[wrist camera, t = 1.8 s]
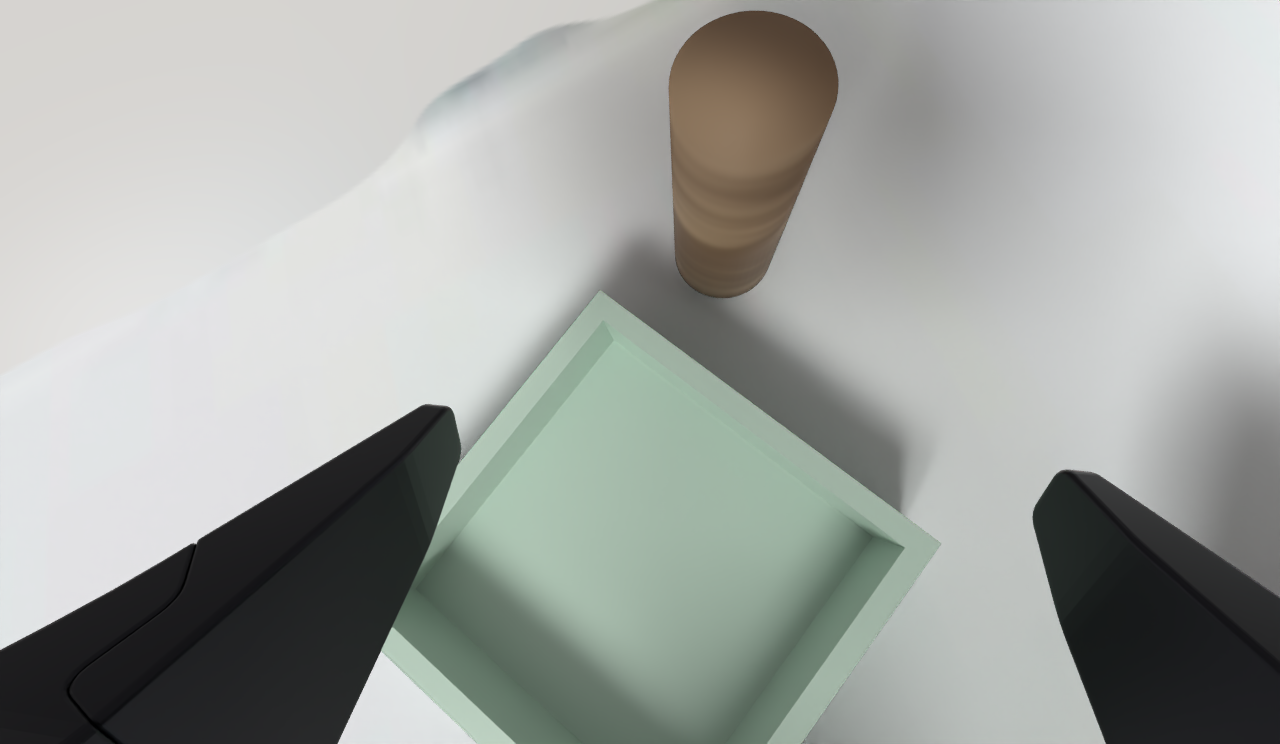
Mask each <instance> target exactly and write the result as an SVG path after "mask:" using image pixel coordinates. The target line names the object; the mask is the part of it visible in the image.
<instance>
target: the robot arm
mask: <svg viewBox="0 0 1280 744" xmlns="http://www.w3.org/2000/svg"><path fill="white" fill-rule="evenodd" d="M460 454H461V443H460V439H459V434H458V430H457V425H456V421H455V417H454V413H453V411H452V409H451V408H450V407H448V406H442V405H432V404H425V405H422V406H420V407H418V408H417V409H415V410H413V411H412V412H410V413H408V414H407V415H405V416H403V417H402V418H400V419H398V420H397V421H395V422H393V423H392V424H390V425H388V426H387V427H385V428H383V429H382V430H380V431H378V432H377V433H375V434H373V435H372V436H370V437H368V438H367V439H365V440H363V441H362V442H360V443H358V444H357V445H355V446H353V447H352V448H350V449H348V450H347V451H345V452H343V453H342V454H340V455H338V456H337V457H335V458H333V459H332V460H330V461H328V462H327V463H325V464H323V465H322V466H320V467H318V468H317V469H315V470H313V471H312V472H310V473H309V474H307V475H305V476H304V477H302V478H300V479H299V480H297V481H295V482H294V483H292V484H290V485H289V486H287V487H285V488H284V489H282V490H280V491H279V492H277V493H275V494H274V495H272V496H270V497H269V498H267V499H265V500H264V501H262V502H260V503H259V504H257V505H255V506H254V507H252V508H250V509H249V510H247V511H245V512H244V513H242V514H240V515H239V516H237V517H235V518H234V519H232V520H230V521H229V522H227V523H225V524H224V525H222V526H220V527H219V528H217V529H215V530H214V531H212V532H210V533H209V534H207V535H205V536H204V537H202V538H200V539H199V540H198V542H197V544H194V543H193V544H190V545H188V546H187V547H185V548H183V549H182V550H180V551H178V552H177V553H175V554H173V555H172V556H170V557H168V558H167V559H165V560H163V561H162V562H160V563H158V564H157V565H155V566H153V567H151V568H150V569H148V570H146V571H144V572H143V573H141V574H139V575H138V576H136V577H134V578H132V579H131V580H129V581H127V582H125V583H124V584H122V585H120V586H119V587H117V588H115V589H113V590H112V591H110V592H108V593H106V594H104V595H102V596H101V597H99V598H97V599H95V600H93V601H91V602H90V603H88V604H86V605H84V606H82V607H80V608H79V609H77V610H75V611H73V612H71V613H69V614H68V615H66V616H64V617H62V618H60V619H58V620H56V621H55V622H53V623H51V624H49V625H47V626H45V627H43V628H41V629H39V630H38V631H36V632H34V633H32V634H30V635H28V636H26V637H24V638H22V639H20V640H19V641H17V642H15V643H13V644H11V645H9V646H7V647H5V648H3V649H2V650H0V744H338V741H339V739H340V737H341V735H342V733H343V731H344V729H345V727H346V724H347V722H348V720H349V718H350V716H351V714H352V712H353V709H354V707H355V705H356V703H357V701H358V699H359V697H360V694H361V692H362V690H363V688H364V686H365V684H366V682H367V680H368V677H369V675H370V673H371V671H372V669H373V667H374V665H375V662H376V660H377V658H378V656H379V654H380V652H381V650H382V647H383V645H384V643H385V641H386V639H387V637H388V635H389V633H390V630H391V628H392V626H393V624H394V622H395V620H396V618H397V615H398V613H399V611H400V609H401V607H402V605H403V603H404V601H405V598H406V596H407V594H408V592H409V590H410V588H411V586H412V583H413V581H414V579H415V577H416V575H417V573H418V571H419V568H420V566H421V564H422V562H423V560H424V558H425V555H426V553H427V551H428V549H429V546H430V544H431V541H432V539H433V536H434V533H435V530H436V528H437V525H438V522H439V519H440V516H441V513H442V510H443V507H444V504H445V501H446V498H447V495H448V492H449V489H450V486H451V483H452V480H453V477H454V474H455V471H456V468H457V465H458V462H459V459H460ZM1033 525H1034V529H1035V533H1036V537H1037V540H1038V544H1039V548H1040V552H1041V555H1042V559H1043V563H1044V567H1045V571H1046V574H1047V578H1048V582H1049V586H1050V589H1051V593H1052V597H1053V601H1054V605H1055V608H1056V611H1057V615H1058V618H1059V621H1060V624H1061V627H1062V630H1063V633H1064V636H1065V638H1066V641H1067V644H1068V646H1069V649H1070V652H1071V654H1072V657H1073V659H1074V662H1075V665H1076V667H1077V670H1078V672H1079V675H1080V678H1081V680H1082V683H1083V685H1084V688H1085V691H1086V693H1087V696H1088V698H1089V701H1090V703H1091V706H1092V709H1093V711H1094V714H1095V716H1096V719H1097V722H1098V724H1099V727H1100V729H1101V732H1102V735H1103V737H1104V740H1105V742H1106V744H1280V597H1278V596H1277V595H1276V594H1274V593H1273V592H1271V591H1270V590H1268V589H1267V588H1265V587H1264V586H1262V585H1261V584H1259V583H1258V582H1256V581H1255V580H1253V579H1252V578H1250V577H1249V576H1247V575H1246V574H1244V573H1243V572H1242V571H1240V570H1239V569H1237V568H1236V567H1234V566H1233V565H1231V564H1230V563H1228V562H1227V561H1225V560H1224V559H1222V558H1221V557H1219V556H1218V555H1216V554H1215V553H1213V552H1212V551H1210V550H1209V549H1208V548H1206V547H1205V546H1203V545H1202V544H1200V543H1199V542H1197V541H1196V540H1194V539H1193V538H1191V537H1190V536H1188V535H1187V534H1185V533H1184V532H1182V531H1181V530H1179V529H1178V528H1176V527H1175V526H1174V525H1172V524H1171V523H1169V522H1168V521H1166V520H1165V519H1163V518H1162V517H1160V516H1159V515H1157V514H1156V513H1154V512H1153V511H1151V510H1150V509H1148V508H1147V507H1145V506H1144V505H1143V504H1141V503H1140V502H1138V501H1137V500H1135V499H1134V498H1132V497H1131V496H1129V495H1128V494H1126V493H1125V492H1123V491H1122V490H1120V489H1119V488H1117V487H1116V486H1114V485H1113V484H1111V483H1110V482H1109V481H1107V480H1106V479H1104V478H1103V477H1101V476H1100V475H1098V474H1095V473H1092V472H1086V471H1076V470H1062V471H1060V472H1058V473H1057V474H1056V475H1055V476H1054V477H1053V479H1052V481H1051V482H1050V484H1049V485H1048V487H1047V488H1046V490H1045V491H1044V493H1043V494H1042V496H1041V497H1040V499H1039V501H1038V502H1037V504H1036V505H1035V507H1034V511H1033Z"/></svg>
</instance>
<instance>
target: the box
mask: <svg viewBox="0 0 1280 744" xmlns="http://www.w3.org/2000/svg"><path fill="white" fill-rule="evenodd" d="M940 545H941V543H940V542H939V541H937V540H936V539H935V538H933V537H932V536H931V535H929V534H928V533H926V532H925V531H924V530H922V529H921V528H920V527H918V526H917V525H916V524H914V523H913V522H912V521H910V520H909V519H908V518H906V517H905V516H904V515H902V514H901V513H900V512H898V511H897V510H896V509H894V508H893V507H891V506H890V505H889V504H887V503H886V502H885V501H883V500H882V499H881V498H879V497H878V496H877V495H875V494H874V493H873V492H871V491H870V490H869V489H867V488H866V487H865V486H863V485H862V484H861V483H859V482H858V481H857V480H855V479H854V478H852V477H851V476H850V475H848V474H847V473H846V472H844V471H843V470H842V469H840V468H839V467H838V466H836V465H835V464H834V463H832V462H831V461H830V460H828V459H827V458H826V457H824V456H823V455H822V454H820V453H819V452H817V451H816V450H815V449H813V448H812V447H811V446H809V445H808V444H807V443H805V442H804V441H803V440H801V439H800V438H799V437H797V436H796V435H795V434H793V433H792V432H791V431H789V430H788V429H787V428H785V427H784V426H782V425H781V424H780V423H778V422H777V421H776V420H774V419H773V418H772V417H770V416H769V415H768V414H766V413H765V412H764V411H762V410H761V409H760V408H758V407H757V406H756V405H754V404H753V403H752V402H750V401H749V400H747V399H746V398H745V397H743V396H742V395H741V394H739V393H738V392H737V391H735V390H734V389H733V388H731V387H730V386H729V385H727V384H726V383H725V382H723V381H722V380H721V379H719V378H718V377H717V376H715V375H714V374H712V373H711V372H710V371H708V370H707V369H706V368H704V367H703V366H702V365H700V364H699V363H698V362H696V361H695V360H694V359H692V358H691V357H690V356H688V355H687V354H686V353H684V352H683V351H682V350H680V349H679V348H678V347H676V346H675V345H673V344H672V343H671V342H669V341H668V340H667V339H665V338H664V337H663V336H661V335H660V334H659V333H657V332H656V331H655V330H653V329H652V328H651V327H649V326H648V325H647V324H645V323H644V322H643V321H641V320H640V319H638V318H637V317H636V316H634V315H633V314H632V313H630V312H629V311H628V310H626V309H625V308H624V307H622V306H621V305H620V304H618V303H617V302H616V301H614V300H613V299H612V298H610V297H609V296H608V295H606V294H605V293H603V292H602V291H601V290H599V292H598V293H597V294H596V295H595V296H594V298H593V299H592V300H591V301H590V303H589V304H588V305H587V306H586V308H585V309H584V310H583V311H582V313H581V314H580V315H579V316H578V317H577V319H576V320H575V321H574V322H573V324H572V325H571V326H570V327H569V329H568V330H567V331H566V332H565V334H564V335H563V336H562V337H561V338H560V340H559V341H558V342H557V343H556V345H555V346H554V347H553V348H552V350H551V351H550V352H549V353H548V354H547V356H546V357H545V358H544V359H543V361H542V362H541V363H540V364H539V366H538V367H537V368H536V369H535V371H534V372H533V373H532V374H531V375H530V377H529V378H528V379H527V380H526V382H525V383H524V384H523V385H522V387H521V388H520V389H519V390H518V392H517V393H516V394H515V395H514V396H513V398H512V399H511V400H510V401H509V403H508V404H507V405H506V406H505V408H504V409H503V410H502V411H501V412H500V414H499V415H498V416H497V417H496V419H495V420H494V421H493V422H492V424H491V425H490V426H489V427H488V429H487V430H486V431H485V432H484V433H483V435H482V436H481V437H480V438H479V440H478V441H477V442H476V443H475V445H474V446H473V447H472V448H471V450H470V451H469V452H468V453H467V454H466V456H465V457H464V458H463V459H462V461H461V462H460V463H459V464H458V466H457V468H456V471H455V474H454V477H453V480H452V483H451V486H450V489H449V492H448V495H447V498H446V501H445V504H444V507H443V510H442V513H441V516H440V519H439V522H438V525H437V528H436V530H435V533H434V536H433V539H432V541H431V544H430V546H429V549H428V551H427V553H426V555H425V558H424V560H423V562H422V564H421V566H420V568H419V571H418V573H417V575H416V577H415V579H414V581H413V583H412V586H411V588H410V590H409V592H408V594H407V596H406V598H405V601H404V603H403V605H402V607H401V609H400V611H399V613H398V615H397V618H396V620H395V622H394V624H393V626H392V628H391V630H390V633H389V635H388V637H387V639H386V641H385V643H384V645H383V647H382V650H381V651H382V652H383V653H384V654H385V655H386V656H387V657H388V658H389V659H390V660H391V661H392V662H393V663H394V664H395V665H396V666H397V667H398V668H399V669H400V670H401V671H402V672H403V673H404V674H405V675H406V676H407V677H409V678H410V679H411V680H412V681H413V682H414V683H415V684H416V685H417V686H418V687H419V688H420V689H421V690H422V691H423V692H424V693H425V694H426V695H427V696H428V697H429V698H430V699H431V700H432V701H433V702H435V703H436V704H437V705H438V706H439V707H440V708H441V709H442V710H443V711H444V712H445V713H446V714H447V715H448V716H449V717H450V718H451V719H452V720H453V721H454V722H455V723H456V724H457V725H458V726H459V727H461V728H462V729H463V730H464V731H465V732H466V733H467V734H468V735H469V736H470V737H471V738H472V739H473V740H474V741H475V742H476V743H477V744H802V742H803V741H804V739H805V738H806V737H807V735H808V734H809V732H810V731H811V729H812V728H813V727H814V725H815V724H816V722H817V721H818V719H819V718H820V717H821V715H822V714H823V712H824V711H825V709H826V708H827V706H828V705H829V704H830V702H831V701H832V699H833V698H834V696H835V695H836V694H837V692H838V691H839V689H840V688H841V686H842V685H843V684H844V682H845V681H846V679H847V678H848V676H849V675H850V674H851V672H852V671H853V669H854V668H855V666H856V665H857V664H858V662H859V661H860V659H861V658H862V656H863V655H864V654H865V652H866V651H867V649H868V648H869V646H870V645H871V644H872V642H873V641H874V639H875V638H876V636H877V635H878V634H879V632H880V631H881V629H882V628H883V626H884V625H885V624H886V622H887V621H888V619H889V618H890V616H891V615H892V614H893V612H894V611H895V609H896V608H897V606H898V605H899V604H900V602H901V601H902V599H903V598H904V596H905V595H906V594H907V592H908V591H909V589H910V588H911V586H912V585H913V584H914V582H915V581H916V579H917V578H918V576H919V575H920V574H921V572H922V571H923V569H924V568H925V566H926V565H927V564H928V562H929V561H930V559H931V558H932V556H933V555H934V554H935V552H936V551H937V549H938V548H939V546H940Z"/></svg>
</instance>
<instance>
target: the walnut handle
mask: <svg viewBox="0 0 1280 744" xmlns="http://www.w3.org/2000/svg"><path fill="white" fill-rule="evenodd" d="M837 94H838V74H837V69H836V65H835V62H834V59H833V57H832V55H831V53H830V51H829V49H828V48H827V46H826V45H825V43H824V42H823V41H822V40H821V39H820V37H819V36H818V35H817V34H816V33H814V32H813V31H812V30H811V29H810V28H808V27H807V26H805V25H804V24H802V23H801V22H799V21H797V20H795V19H793V18H790V17H788V16H785V15H782V14H778V13H774V12H767V11H744V12H737V13H733V14H729V15H726V16H723V17H720V18H718V19H716V20H713V21H711V22H709V23H708V24H706V25H705V26H703V27H702V28H700V29H699V30H698V31H696V32H695V33H694V34H693V35H692V36H691V37H690V38H689V39H688V40H687V41H686V42H685V44H684V45H683V46H682V48H681V49H680V51H679V52H678V54H677V56H676V58H675V60H674V63H673V65H672V68H671V73H670V77H669V109H670V135H671V161H672V188H673V214H674V240H675V260H676V264H677V267H678V270H679V272H680V274H681V276H682V277H683V279H684V280H685V281H686V282H687V283H688V285H690V286H691V287H692V288H693V289H695V290H696V291H698V292H700V293H702V294H704V295H707V296H710V297H715V298H730V297H735V296H738V295H741V294H744V293H746V292H748V291H749V290H751V289H752V288H753V287H755V286H756V285H757V284H758V283H759V282H760V281H761V279H762V278H763V277H764V275H765V273H766V271H767V269H768V267H769V264H770V262H771V259H772V257H773V255H774V252H775V250H776V247H777V245H778V243H779V240H780V238H781V235H782V233H783V230H784V228H785V226H786V223H787V221H788V218H789V216H790V213H791V211H792V209H793V206H794V204H795V201H796V199H797V196H798V194H799V192H800V189H801V187H802V184H803V182H804V180H805V177H806V175H807V172H808V170H809V167H810V165H811V163H812V160H813V158H814V155H815V153H816V150H817V148H818V146H819V143H820V141H821V138H822V136H823V134H824V131H825V129H826V126H827V124H828V121H829V119H830V117H831V114H832V112H833V109H834V106H835V103H836V100H837Z"/></svg>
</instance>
